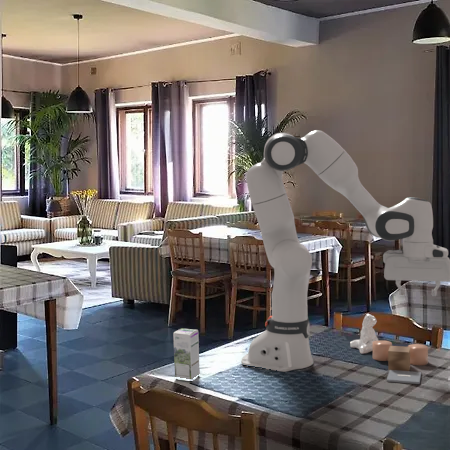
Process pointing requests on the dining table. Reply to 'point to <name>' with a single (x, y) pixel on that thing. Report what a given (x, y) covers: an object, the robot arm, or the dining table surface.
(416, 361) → the peach rounded cylinder
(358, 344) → the seated beast figurine
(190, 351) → the syrup box
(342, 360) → the dining table surface
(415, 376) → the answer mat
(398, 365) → the walnut cube
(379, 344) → the rounded tan cylinder
